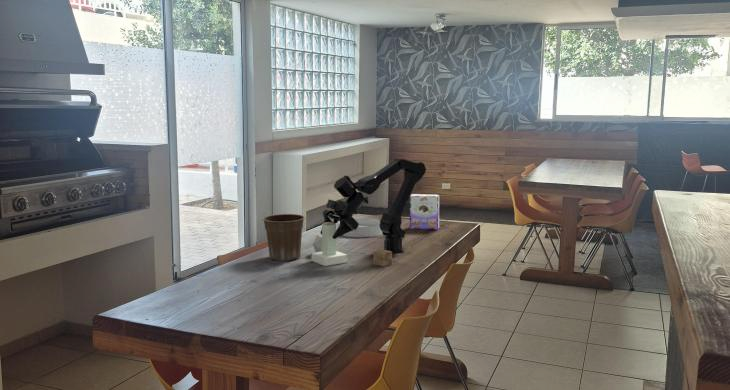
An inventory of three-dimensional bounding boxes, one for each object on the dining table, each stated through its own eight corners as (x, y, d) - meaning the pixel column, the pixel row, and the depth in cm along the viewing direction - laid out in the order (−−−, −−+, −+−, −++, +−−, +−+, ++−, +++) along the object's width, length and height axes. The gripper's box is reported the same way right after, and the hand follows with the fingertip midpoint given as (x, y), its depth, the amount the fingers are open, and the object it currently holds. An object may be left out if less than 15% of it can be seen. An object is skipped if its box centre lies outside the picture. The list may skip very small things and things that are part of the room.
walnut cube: (381, 262, 250) (381, 249, 249) (391, 264, 247) (391, 251, 246) (373, 264, 246) (373, 251, 246) (383, 266, 243) (383, 253, 242)
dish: (355, 226, 321) (355, 216, 320) (393, 231, 308) (393, 221, 307) (327, 234, 303) (327, 223, 302) (365, 240, 290) (365, 229, 289)
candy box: (439, 227, 316) (440, 194, 313) (438, 230, 310) (438, 196, 308) (411, 226, 319) (411, 193, 316) (409, 228, 313) (409, 195, 311)
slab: (333, 257, 257) (333, 249, 257) (347, 262, 249) (347, 254, 249) (311, 260, 252) (311, 253, 251) (324, 266, 244) (324, 258, 243)
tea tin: (331, 252, 253) (330, 221, 251) (336, 254, 250) (336, 223, 248) (322, 253, 251) (321, 222, 249) (327, 255, 247) (327, 224, 246)
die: (325, 259, 256) (338, 238, 258) (307, 248, 257) (320, 227, 259) (326, 262, 264) (339, 241, 266) (308, 251, 265) (321, 231, 267)
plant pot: (264, 263, 247) (263, 222, 245) (262, 254, 263) (261, 214, 261) (307, 261, 251) (306, 220, 248) (302, 252, 266) (302, 213, 264)
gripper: (326, 189, 257) (302, 219, 252) (351, 194, 241) (326, 227, 237) (343, 206, 262) (320, 236, 258) (369, 213, 247) (344, 245, 242)
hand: (327, 236), depth 249 cm, fingers open, 9 cm apart
